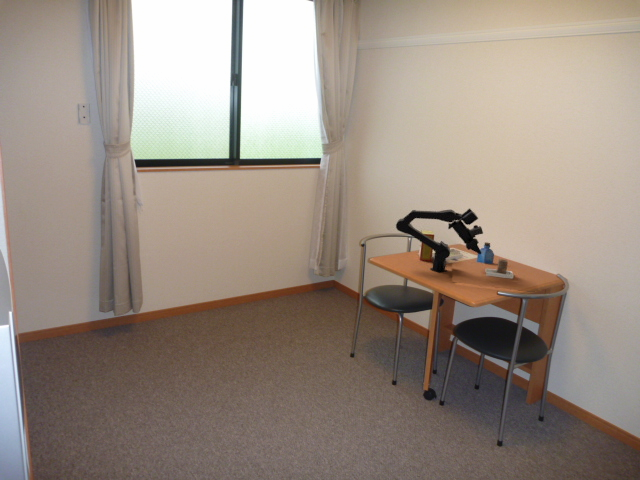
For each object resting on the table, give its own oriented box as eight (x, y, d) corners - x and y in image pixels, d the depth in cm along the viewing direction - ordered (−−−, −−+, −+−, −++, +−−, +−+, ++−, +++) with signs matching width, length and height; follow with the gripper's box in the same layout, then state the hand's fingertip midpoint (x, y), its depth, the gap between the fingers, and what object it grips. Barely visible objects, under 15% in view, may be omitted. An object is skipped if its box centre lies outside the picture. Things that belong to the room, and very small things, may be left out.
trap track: (485, 277, 247) (486, 272, 247) (485, 273, 254) (485, 268, 253) (512, 281, 244) (513, 275, 243) (511, 276, 251) (512, 271, 250)
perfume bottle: (485, 261, 276) (488, 241, 273) (492, 264, 271) (495, 244, 268) (476, 262, 274) (479, 242, 271) (483, 265, 269) (486, 244, 266)
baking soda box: (431, 261, 272) (434, 234, 268) (419, 260, 273) (422, 233, 269) (430, 256, 281) (432, 230, 277) (418, 255, 282) (421, 229, 278)
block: (497, 275, 247) (499, 261, 245) (496, 273, 251) (498, 259, 249) (505, 276, 246) (507, 262, 244) (504, 274, 250) (506, 259, 248)
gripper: (476, 223, 237) (496, 248, 238) (473, 218, 255) (491, 240, 255) (458, 237, 240) (477, 261, 241) (455, 230, 258) (474, 253, 259)
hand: (480, 253), depth 249 cm, fingers closed
